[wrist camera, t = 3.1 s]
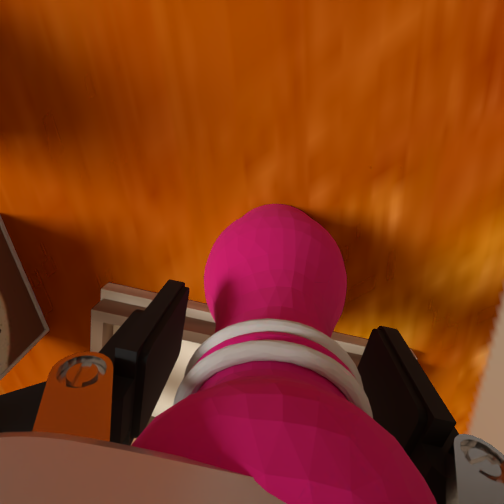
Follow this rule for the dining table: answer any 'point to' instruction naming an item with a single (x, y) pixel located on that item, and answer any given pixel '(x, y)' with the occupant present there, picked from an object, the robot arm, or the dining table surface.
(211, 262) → the pepper mill
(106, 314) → the holder board
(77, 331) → the dining table surface
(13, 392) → the robot arm
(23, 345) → the food container
